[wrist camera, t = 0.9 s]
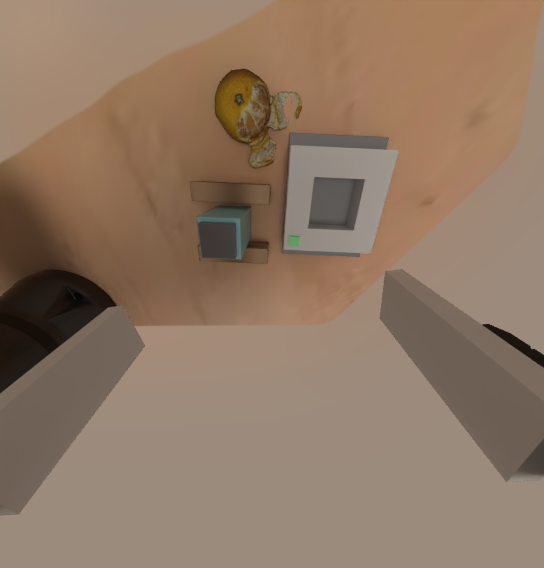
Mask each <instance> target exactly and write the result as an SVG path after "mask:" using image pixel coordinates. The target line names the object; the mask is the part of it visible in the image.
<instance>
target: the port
mask: <svg viewBox="0 0 544 568" xmlns="http://www.w3.org/2000/svg"><path fill="white" fill-rule="evenodd" d="M388 139H389V137H369V136H348V135H327V134H306V133H290V141H289V156H288V171H287V186H286V201H285V216H284V230H283V245H282V253H287V254H309V255H331V256H353V257H359V256H360V253H368V254H371V250H372V247H373V243H374V239H375V236H376V232H377V229H378V225H379V221H380V218H381V214H382V210H383V207H384V203H385V199H386V196H387V192H388V188H389V185H390V181H391V177H392V174H393V170H394V166H395V163H396V159H397V155H398V152H399V150H386V147H387V143H388Z"/></svg>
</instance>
